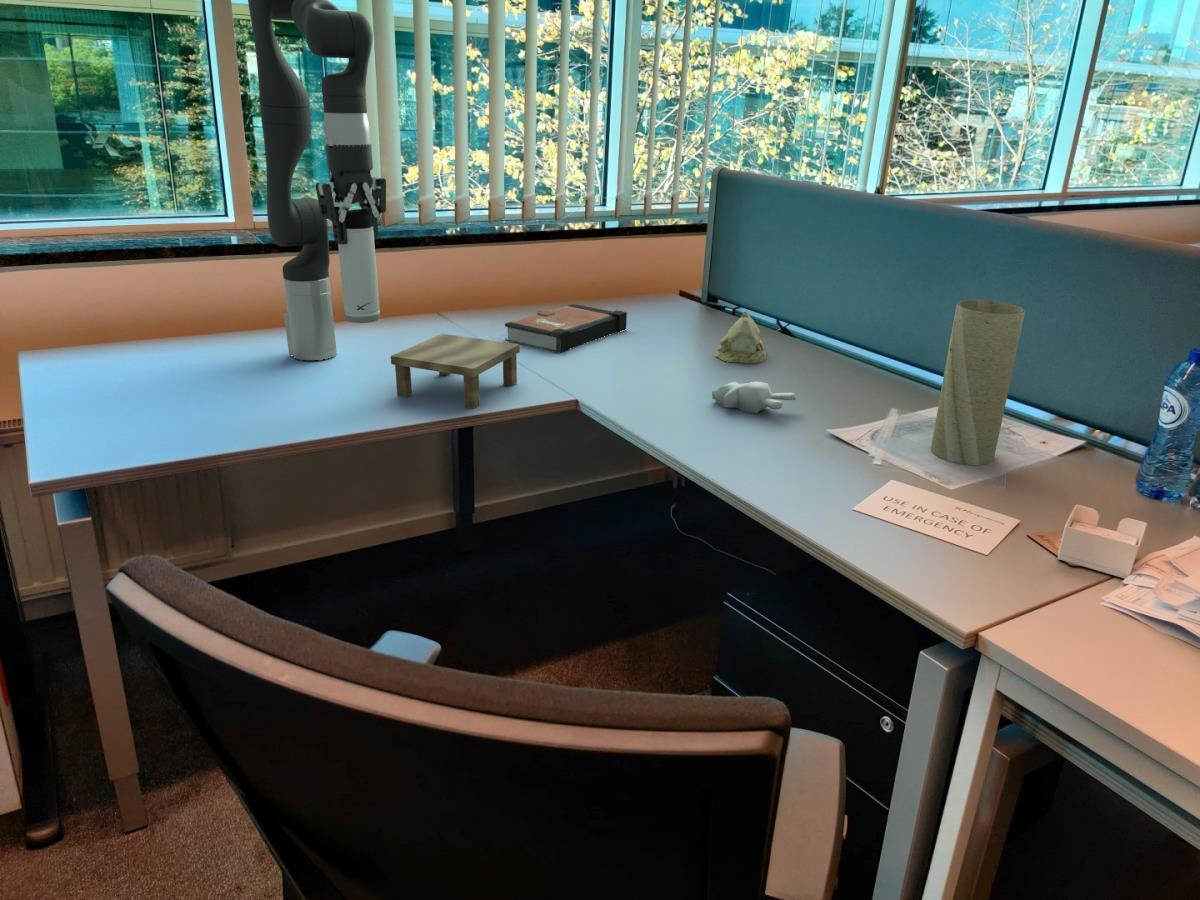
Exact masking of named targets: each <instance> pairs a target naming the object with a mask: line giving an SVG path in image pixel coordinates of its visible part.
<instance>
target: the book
mask: <svg viewBox="0 0 1200 900" xmlns="http://www.w3.org/2000/svg"><path fill="white" fill-rule="evenodd" d="M627 316H628V312H627V311H622V310H618V309H617V310H613V311H612V310H611V311H610V310H607V309H601V308H597V307H592V306H586V305H580V304H576V303H575V304H574V303H571V304H568V305H564V306H561V307H558V308H555V309H550V310H546V309H545V310H538V311H537V312H536V314H533V315H530V316H526V317H523V318H519V319H517V320H512V321H508V322H506V323H504V327H507V338H505V341H507V342H510V343H514V344H520V345H523V346H529V347H532V346H533V348H536V347H537V349H541V348H542V349H541V350H545V349H546V351H549V350H550V352H554V351H555V353H558V352H559V354H562V352H563V353H566V352H568V351H570V350H571V349H574V348H576V346H577V347H579V345H580V346H582V345H585V344H588V343H591V342H593V340H594V341H596V340H595V339H597V340H599V339H598V338H600V339H602V338H604V336H605V337H608V336H610V335H609V334H611V335H613V334H612V333H614V334H616V333H615V332H620V331H622V330H625V329H626V330H627V323H628V322H627V320H628V319H627V318H628V317H627ZM626 330H625V331H626ZM620 333H621V332H620ZM607 335H608V336H607ZM601 337H602V338H601ZM590 341H591V342H590ZM587 342H588V343H587ZM584 343H585V344H584ZM573 347H574V348H573ZM570 348H571V349H570ZM565 351H566V352H565Z"/></svg>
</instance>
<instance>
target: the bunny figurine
mask: <svg viewBox="0 0 1200 900" xmlns="http://www.w3.org/2000/svg"><path fill="white" fill-rule="evenodd" d="M711 397H712V400H715V401H716V403H717V404H718V405H719V406H721V407H725V408H736V409H739V410H740V411H742V412H746V413H753V414H759V412H760V411H764V410H765V409H767V408H769V409H771V410H781V409H782V408H783V403H784V401H796V400H797V397H796V393H794V392H777V393H773V392H772V390H771V388H770V386H769V383H766V382H763V381H751V382H747V383H738V382H737V381H731V382H729V383H726V384H725V385H722V386H720V387H717V389H714V390H712V391H711ZM782 400H783V401H782Z"/></svg>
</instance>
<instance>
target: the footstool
mask: <svg viewBox="0 0 1200 900" xmlns="http://www.w3.org/2000/svg"><path fill="white" fill-rule="evenodd" d="M520 345H521V344H519V343H514V342H505V341H498V340H497V341H496V340H489V339H482V338H477V337H468V336H461V335H453V334H447V333H440V334H438V335H436V336H434V337H431V338H428V339H427V340H425V341H422V342H420V343H418V344H415V345H413V346H411V347H408V348H406V349H403V350H401V351H399V352H396V353H394V354H392V355H390V364H391V365H394V370H395V382H396V395H397V396H398V397H403V398H407V397H409V396H412V395H413V388H412V375H411V373H412V372H411V368H413V369H420V370H426V371H432V372H439V375H442V376H447V377H448V376H451V375H457V376H463V391H464V392H463V394H464V397H463V398H464V407H465V408H468V409H472V410H473V409H477V408H478V407H480V405H481V403H480V380H479V379H480V377H479V376H480V374H482V373H484V372H486V371H488V370H490V369H492V368H493V367H496V366H497V365H498V364H501V363H502V375H503V376H502V378H503V379H502V380H503V381H502V383H503V385H505V386H510V387H511V386H514V385H515V384H517V383H518V377H517V376H518V372H517V367H518V366H517V365H518V363H517V354H519V353H520V352H521V350H520V347H521V346H520Z"/></svg>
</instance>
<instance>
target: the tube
mask: <svg viewBox="0 0 1200 900" xmlns="http://www.w3.org/2000/svg"><path fill="white" fill-rule="evenodd" d="M1025 315H1026V309H1025V308H1024V307H1023V306H1020V305H1017V304H1014V303H1009V302H1006V301H1000V300H999V301H998V300H990V299H989V300H988V299H964V300H960V301H957V303H956V306H955V312H954V317H953V322H952V329H951V335H950V340H949V344H948V345H949V346H948V351H947V356H946V362H945V367H944V372H943V379H942V383H941V391H940V394H939V395H940V396H939V401H938V406H937V412H936V417H935V424H934V427H933V432H932V438H931V439H932V440H931V444H930V450H931V453H932V454H933V455H934V456H936V457H938V458H939V459H942V460H944V461H948V462H951V463H954V464H955V463H956V464H961V465H968V466H982V465H987V464H990V463H992V462H993V461H994V459H995V456H996V451H997V445H998V441H999V437H1000V432H1001V427H1002V423H1003V417H1004V413H1005V410H1006V409H1005V408H1006V403H1007V400H1008V399H1007V398H1008V395H1009V390H1010V385H1011V381H1012V375H1013V371H1014V366H1015V361H1016V357H1017V351H1018V346H1019V342H1020V339H1021V333H1022V330H1023V323H1024V320H1025Z"/></svg>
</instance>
